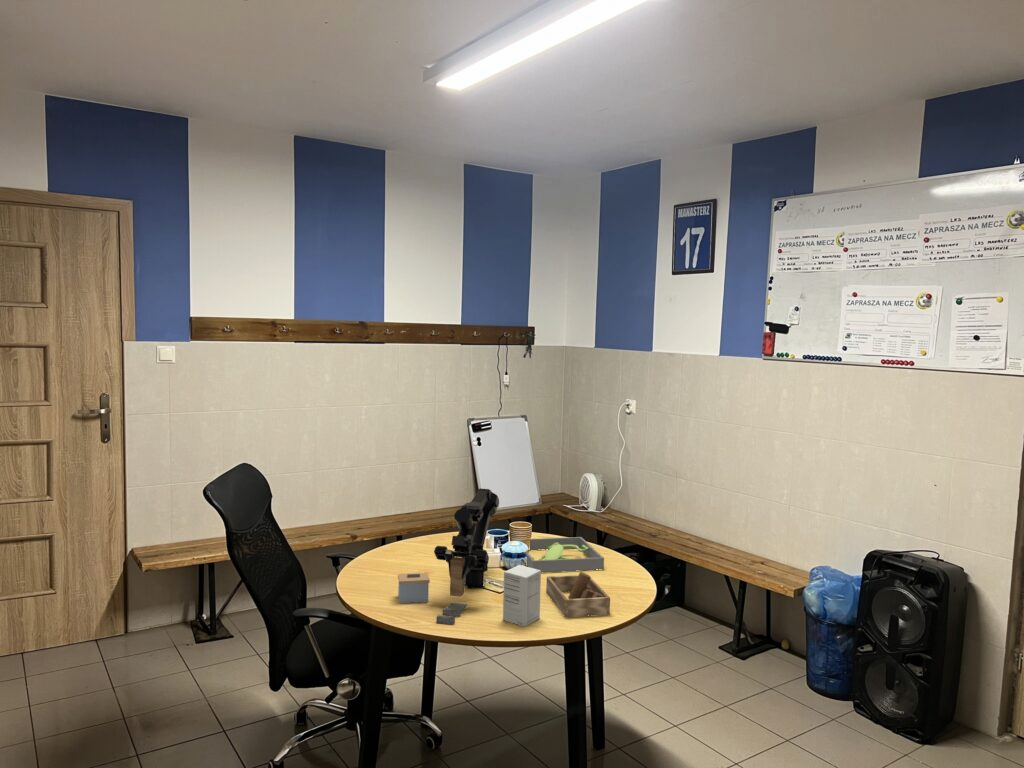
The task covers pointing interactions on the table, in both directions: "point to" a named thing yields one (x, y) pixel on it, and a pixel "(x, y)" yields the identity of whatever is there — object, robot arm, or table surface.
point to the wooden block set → (583, 588)
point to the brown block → (457, 577)
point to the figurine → (559, 551)
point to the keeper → (446, 618)
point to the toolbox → (413, 587)
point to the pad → (457, 606)
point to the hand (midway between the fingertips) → (456, 577)
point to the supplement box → (521, 595)
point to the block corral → (576, 605)
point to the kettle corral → (561, 565)
